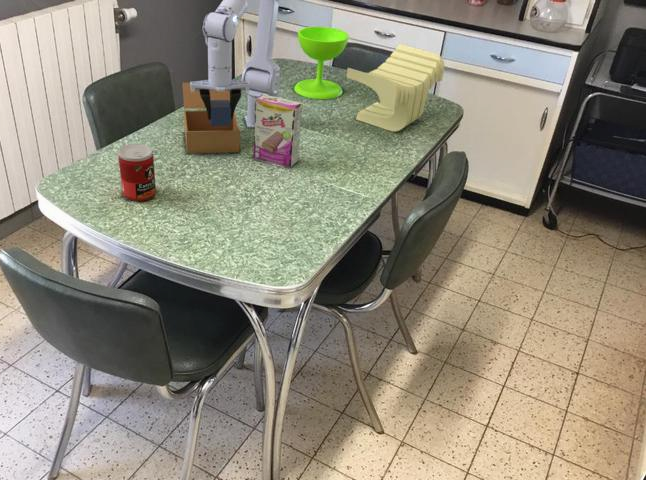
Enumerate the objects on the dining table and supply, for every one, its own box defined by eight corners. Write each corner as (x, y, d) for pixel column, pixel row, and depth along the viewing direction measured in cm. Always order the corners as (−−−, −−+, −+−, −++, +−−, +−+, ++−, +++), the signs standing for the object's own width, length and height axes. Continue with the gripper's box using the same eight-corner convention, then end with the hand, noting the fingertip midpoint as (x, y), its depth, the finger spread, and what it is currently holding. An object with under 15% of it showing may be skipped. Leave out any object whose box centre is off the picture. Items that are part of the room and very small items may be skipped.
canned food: (140, 205, 147) (137, 162, 140) (115, 194, 150) (110, 151, 143) (163, 192, 152) (160, 149, 145) (137, 182, 155) (133, 140, 149)
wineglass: (348, 98, 206) (355, 41, 195) (300, 100, 203) (304, 42, 192) (335, 80, 218) (340, 26, 208) (289, 81, 215) (292, 26, 204)
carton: (184, 132, 179) (183, 110, 175) (233, 131, 181) (234, 109, 178) (187, 154, 168) (186, 131, 164) (239, 153, 171) (239, 130, 167)
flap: (184, 108, 175) (183, 108, 175) (233, 107, 177) (233, 107, 177) (182, 82, 174) (182, 83, 174) (232, 82, 176) (232, 82, 177)
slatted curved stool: (388, 144, 180) (398, 82, 169) (340, 127, 187) (347, 67, 177) (434, 113, 200) (446, 56, 189) (390, 99, 207) (399, 43, 196)
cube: (229, 118, 167) (229, 99, 164) (230, 126, 163) (231, 107, 160) (209, 118, 166) (209, 99, 163) (211, 126, 162) (211, 107, 159)
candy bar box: (252, 158, 168) (254, 98, 159) (260, 151, 172) (263, 92, 162) (290, 169, 165) (295, 108, 155) (298, 161, 169) (303, 101, 159)
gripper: (190, 70, 152) (192, 124, 160) (251, 70, 154) (250, 123, 162) (189, 60, 157) (191, 113, 165) (248, 61, 159) (246, 112, 168)
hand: (220, 117), depth 164 cm, fingers closed on cube, 5 cm apart
